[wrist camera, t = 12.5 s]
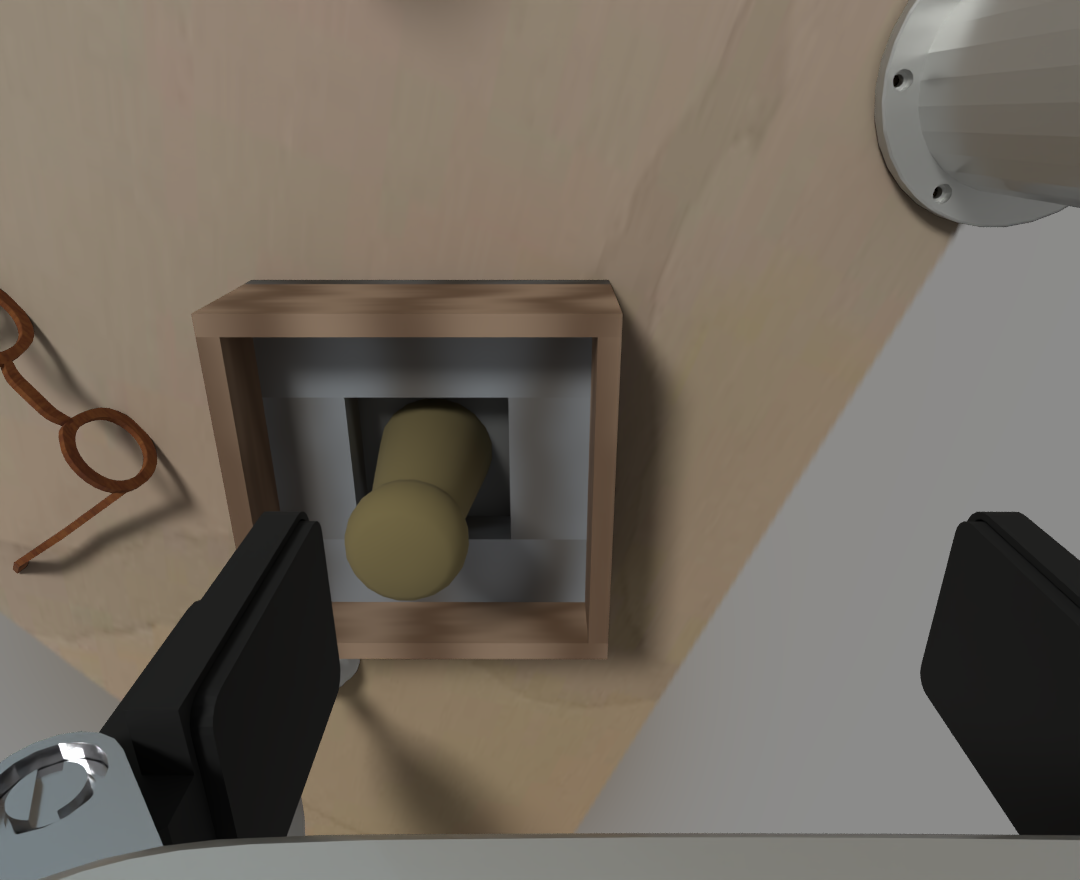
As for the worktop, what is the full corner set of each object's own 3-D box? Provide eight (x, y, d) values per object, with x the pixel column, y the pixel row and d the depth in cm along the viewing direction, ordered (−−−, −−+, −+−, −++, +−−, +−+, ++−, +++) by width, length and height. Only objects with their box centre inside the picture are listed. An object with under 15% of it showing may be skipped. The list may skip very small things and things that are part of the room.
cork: (485, 507, 41) (466, 632, 31) (376, 492, 41) (322, 614, 31) (499, 407, 39) (483, 507, 29) (384, 390, 39) (327, 486, 29)
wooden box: (608, 280, 37) (622, 313, 31) (598, 581, 45) (607, 659, 38) (251, 280, 37) (191, 313, 31) (298, 580, 45) (257, 658, 38)
